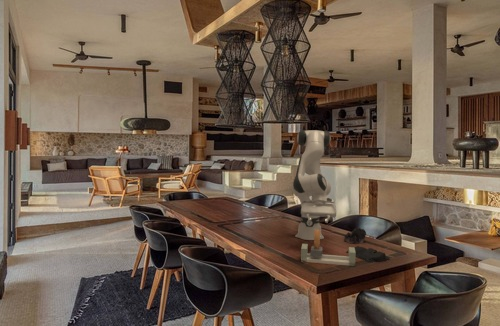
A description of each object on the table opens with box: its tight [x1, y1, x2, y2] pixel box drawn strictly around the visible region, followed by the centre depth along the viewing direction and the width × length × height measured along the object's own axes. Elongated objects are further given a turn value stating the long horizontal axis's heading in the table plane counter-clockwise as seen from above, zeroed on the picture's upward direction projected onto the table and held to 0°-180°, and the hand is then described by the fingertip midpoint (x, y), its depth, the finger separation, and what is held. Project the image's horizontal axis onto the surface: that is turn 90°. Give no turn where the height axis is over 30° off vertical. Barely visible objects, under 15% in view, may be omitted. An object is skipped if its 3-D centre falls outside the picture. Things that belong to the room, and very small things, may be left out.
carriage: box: [310, 230, 323, 257], centre depth 203 cm, size 8×6×13 cm
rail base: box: [300, 243, 357, 267], centre depth 202 cm, size 10×28×7 cm, turn 78°
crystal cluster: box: [343, 226, 367, 244], centre depth 244 cm, size 13×14×10 cm
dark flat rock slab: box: [345, 245, 391, 263], centre depth 212 cm, size 15×22×5 cm
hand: (318, 221), depth 213 cm, fingers open, 8 cm apart
